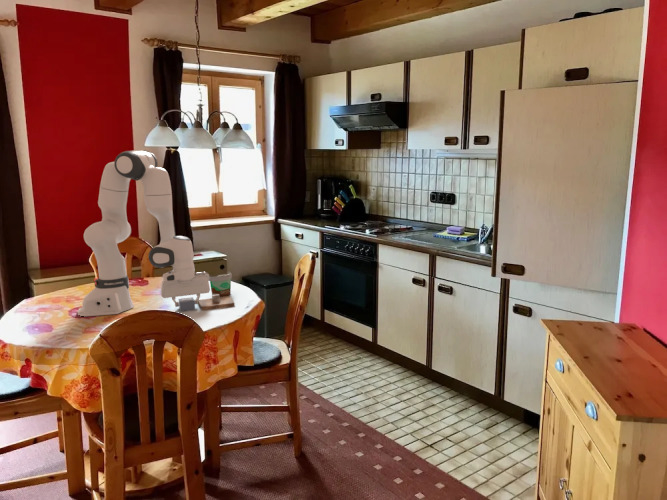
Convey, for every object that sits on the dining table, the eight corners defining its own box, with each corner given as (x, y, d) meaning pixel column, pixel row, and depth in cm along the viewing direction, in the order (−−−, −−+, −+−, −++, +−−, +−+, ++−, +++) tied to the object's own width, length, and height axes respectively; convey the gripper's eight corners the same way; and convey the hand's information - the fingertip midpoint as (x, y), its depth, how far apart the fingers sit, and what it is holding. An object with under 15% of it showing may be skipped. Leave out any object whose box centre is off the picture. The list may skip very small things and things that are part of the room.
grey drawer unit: (180, 311, 228) (179, 302, 227) (179, 307, 233) (178, 298, 233) (195, 309, 230) (194, 300, 229) (193, 306, 236) (192, 296, 235)
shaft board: (201, 310, 229) (201, 300, 228) (198, 303, 240) (197, 293, 239) (234, 306, 234) (234, 296, 233) (229, 299, 245) (228, 289, 244)
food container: (218, 299, 245) (217, 278, 243) (209, 297, 249) (208, 276, 247) (238, 293, 255) (237, 272, 253) (229, 291, 258) (228, 271, 256)
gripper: (207, 269, 235) (210, 300, 238) (159, 274, 228) (161, 306, 231) (210, 272, 230) (212, 303, 232) (160, 278, 222) (162, 310, 225)
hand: (186, 305), depth 231 cm, fingers open, 7 cm apart
